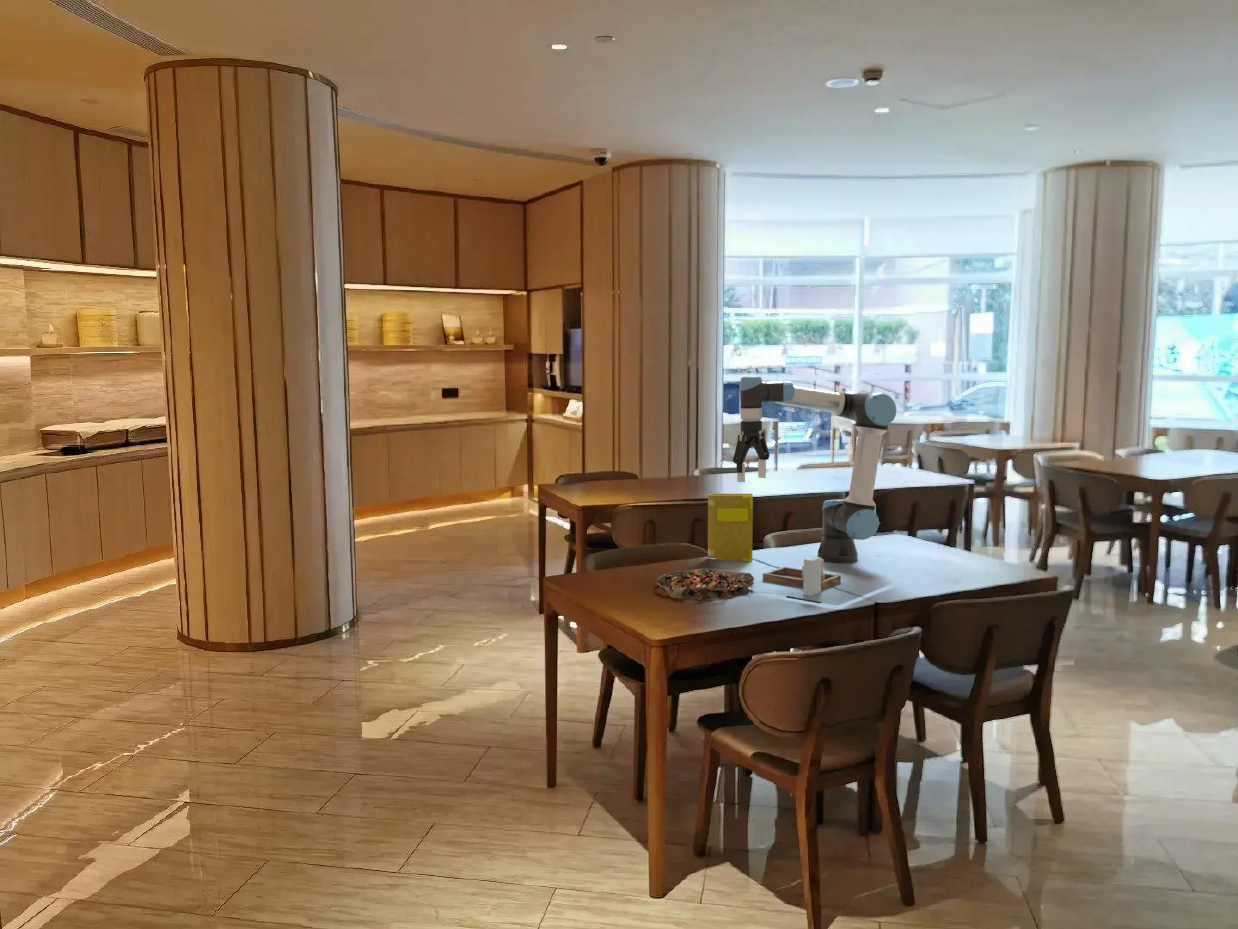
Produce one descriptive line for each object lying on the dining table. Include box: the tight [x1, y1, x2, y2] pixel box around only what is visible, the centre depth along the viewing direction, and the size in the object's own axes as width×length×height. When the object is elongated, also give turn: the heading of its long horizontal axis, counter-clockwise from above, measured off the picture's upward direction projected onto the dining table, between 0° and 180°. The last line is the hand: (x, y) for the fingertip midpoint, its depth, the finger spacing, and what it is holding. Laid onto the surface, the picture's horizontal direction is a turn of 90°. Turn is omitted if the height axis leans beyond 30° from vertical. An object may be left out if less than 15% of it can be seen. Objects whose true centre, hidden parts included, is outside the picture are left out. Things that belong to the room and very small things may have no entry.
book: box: [707, 493, 754, 562], centre depth 368 cm, size 17×7×25 cm, turn 84°
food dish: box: [655, 567, 755, 601], centre depth 323 cm, size 35×33×8 cm
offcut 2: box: [801, 565, 824, 575], centre depth 323 cm, size 4×6×3 cm
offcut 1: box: [804, 557, 825, 568], centre depth 323 cm, size 4×5×2 cm
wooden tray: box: [762, 566, 842, 591], centre depth 326 cm, size 14×22×4 cm, turn 49°
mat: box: [786, 595, 823, 604], centre depth 310 cm, size 12×12×1 cm
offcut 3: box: [802, 575, 825, 581], centre depth 323 cm, size 5×6×3 cm
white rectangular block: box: [802, 556, 822, 597], centre depth 310 cm, size 6×3×12 cm, turn 139°
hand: (751, 480), depth 340 cm, fingers open, 13 cm apart
